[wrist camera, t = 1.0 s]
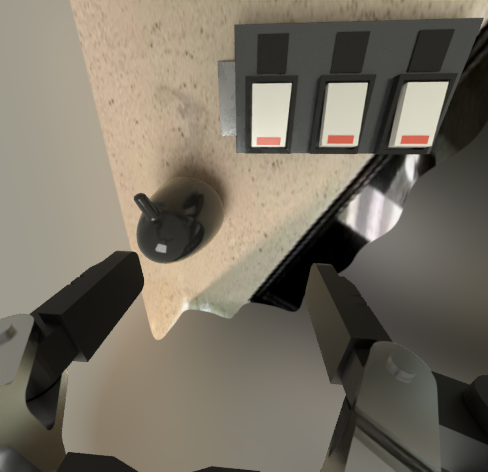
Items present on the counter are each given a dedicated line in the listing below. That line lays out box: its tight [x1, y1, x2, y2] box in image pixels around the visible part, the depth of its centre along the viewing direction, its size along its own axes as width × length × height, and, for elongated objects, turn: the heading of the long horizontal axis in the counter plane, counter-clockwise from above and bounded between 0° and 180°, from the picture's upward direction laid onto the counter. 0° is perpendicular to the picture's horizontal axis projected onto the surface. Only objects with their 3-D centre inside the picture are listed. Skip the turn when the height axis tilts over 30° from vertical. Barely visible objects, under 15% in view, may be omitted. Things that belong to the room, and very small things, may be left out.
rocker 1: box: [252, 83, 292, 147], centre depth 22 cm, size 6×4×1 cm, turn 0°
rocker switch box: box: [218, 18, 484, 154], centre depth 23 cm, size 12×29×5 cm, turn 90°
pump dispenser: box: [134, 176, 224, 264], centre depth 25 cm, size 10×10×15 cm
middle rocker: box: [319, 83, 368, 147], centre depth 21 cm, size 6×4×1 cm, turn 0°
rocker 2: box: [389, 82, 449, 147], centre depth 21 cm, size 6×4×1 cm, turn 0°
